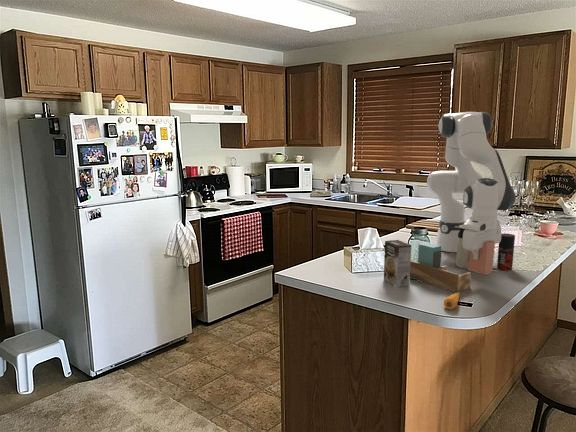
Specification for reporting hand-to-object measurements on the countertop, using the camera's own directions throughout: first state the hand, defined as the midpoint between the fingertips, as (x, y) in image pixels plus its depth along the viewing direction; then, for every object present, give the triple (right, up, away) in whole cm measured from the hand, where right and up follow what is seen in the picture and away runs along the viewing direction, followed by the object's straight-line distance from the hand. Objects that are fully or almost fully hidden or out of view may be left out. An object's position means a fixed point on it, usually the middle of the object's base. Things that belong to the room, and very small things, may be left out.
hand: (481, 257), depth 178 cm
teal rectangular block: (-17, -8, +10) cm, 21 cm away
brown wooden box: (-14, -10, +6) cm, 19 cm away
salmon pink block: (0, -5, +1) cm, 5 cm away
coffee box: (-31, -11, +7) cm, 33 cm away
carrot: (-15, -14, -13) cm, 24 cm away
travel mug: (+4, -6, +26) cm, 27 cm away
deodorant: (+19, -7, +22) cm, 30 cm away
